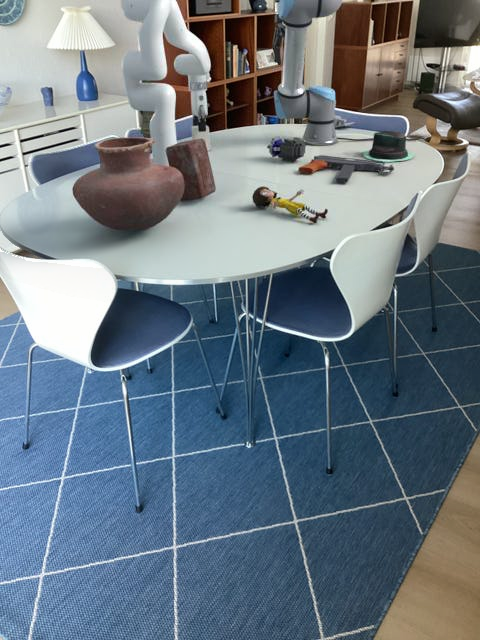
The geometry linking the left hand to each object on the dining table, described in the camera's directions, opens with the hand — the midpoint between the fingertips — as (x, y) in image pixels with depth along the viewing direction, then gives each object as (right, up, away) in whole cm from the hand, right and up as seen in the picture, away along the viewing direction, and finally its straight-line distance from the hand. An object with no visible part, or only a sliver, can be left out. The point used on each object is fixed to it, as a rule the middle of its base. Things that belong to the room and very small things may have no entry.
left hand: (199, 129), depth 238 cm
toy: (+36, -17, -13) cm, 42 cm away
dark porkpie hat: (+78, -14, -10) cm, 80 cm away
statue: (-20, -7, +6) cm, 22 cm away
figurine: (+32, -49, -68) cm, 89 cm away
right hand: (+38, +41, +27) cm, 61 cm away
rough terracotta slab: (-11, -38, -48) cm, 62 cm away
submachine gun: (+56, -28, -32) cm, 70 cm away
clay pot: (-13, -55, -77) cm, 95 cm away
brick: (0, -7, +5) cm, 9 cm away
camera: (+66, +15, +40) cm, 79 cm away
